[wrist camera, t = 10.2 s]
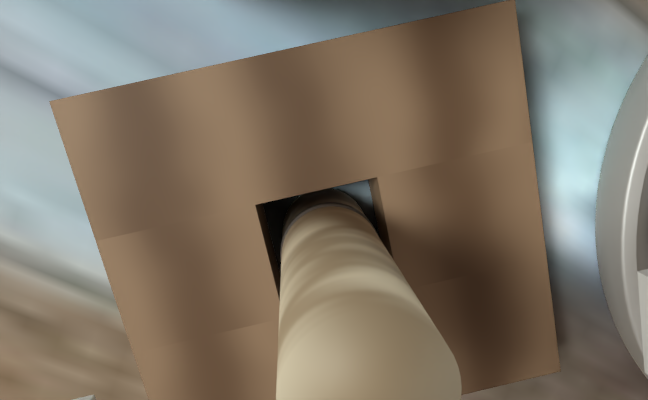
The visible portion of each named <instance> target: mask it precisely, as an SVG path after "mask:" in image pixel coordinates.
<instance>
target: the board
mask: <svg viewBox="0 0 648 400" xmlns="http://www.w3.org/2000/svg"><path fill="white" fill-rule="evenodd" d="M49 102H50V105H51V108H52V111H53V114H54V117H55V120H56V123H57V126H58V129H59V132H60V135H61V138H62V141H63V144H64V147H65V150H66V153H67V156H68V159H69V162H70V165H71V168H72V171H73V174H74V177H75V180H76V183H77V186H78V189H79V192H80V195H81V198H82V201H83V204H84V207H85V210H86V213H87V216H88V219H89V222H90V225H91V228H92V231H93V234H94V237H95V240H96V243H97V246H98V249H99V252H100V255H101V258H102V261H103V264H104V267H105V270H106V273H107V276H108V279H109V282H110V285H111V288H112V291H113V294H114V297H115V300H116V303H117V306H118V309H119V312H120V315H121V318H122V321H123V324H124V327H125V330H126V333H127V336H128V339H129V342H130V345H131V348H132V351H133V354H134V357H135V360H136V363H137V366H138V369H139V372H140V375H141V378H142V381H143V384H144V387H145V390H146V393H147V396H148V399H149V400H276V384H277V358H278V332H279V306H280V280H281V274H280V270H279V266H278V262H277V258H276V254H275V250H274V246H273V242H272V238H271V234H270V230H269V226H268V222H267V218H266V214H265V210H264V206H263V203H265V202H270V201H274V200H279V199H283V198H287V197H292V196H296V195H301V194H305V193H309V192H314V191H318V190H323V189H327V188H332V187H336V186H340V185H345V184H349V183H354V182H358V181H362V180H367V179H368V181H369V186H370V191H371V196H372V201H373V206H374V211H375V216H376V221H377V226H378V231H379V236H380V240H381V241H382V243H383V244H384V246H385V247H386V249H387V251H388V252H389V254H390V255H391V257H392V259H393V260H394V262H395V263H396V265H397V266H398V268H399V270H400V271H401V273H402V274H403V276H404V277H405V279H406V281H407V282H408V284H409V285H410V287H411V288H412V290H413V292H414V293H415V295H416V296H417V298H418V299H419V301H420V303H421V304H422V306H423V307H424V309H425V310H426V312H427V314H428V315H429V317H430V318H431V320H432V322H433V323H434V325H435V326H436V328H437V329H438V331H439V333H440V334H441V336H442V337H443V339H444V340H445V342H446V344H447V345H448V347H449V348H450V350H451V352H452V353H453V355H454V357H455V360H456V362H457V365H458V368H459V372H460V376H461V386H462V389H461V395H463V394H468V393H472V392H476V391H480V390H484V389H488V388H493V387H497V386H501V385H505V384H509V383H514V382H518V381H522V380H526V379H530V378H535V377H539V376H543V375H547V374H551V373H556V372H560V371H561V370H560V362H559V354H558V345H557V337H556V329H555V321H554V313H553V305H552V297H551V289H550V281H549V273H548V264H547V256H546V248H545V240H544V232H543V224H542V216H541V208H540V200H539V192H538V183H537V175H536V167H535V159H534V151H533V143H532V135H531V127H530V119H529V110H528V102H527V94H526V86H525V78H524V70H523V62H522V54H521V46H520V38H519V29H518V21H517V13H516V5H515V0H508V1H503V2H499V3H494V4H490V5H485V6H481V7H476V8H472V9H467V10H462V11H458V12H453V13H449V14H444V15H440V16H435V17H431V18H426V19H422V20H417V21H412V22H408V23H403V24H399V25H394V26H390V27H385V28H381V29H376V30H372V31H367V32H363V33H358V34H353V35H349V36H344V37H340V38H335V39H331V40H326V41H322V42H317V43H313V44H308V45H303V46H299V47H294V48H290V49H285V50H281V51H276V52H272V53H267V54H263V55H258V56H254V57H249V58H244V59H240V60H235V61H231V62H226V63H222V64H217V65H213V66H208V67H204V68H199V69H194V70H190V71H185V72H181V73H176V74H172V75H167V76H163V77H158V78H154V79H149V80H145V81H140V82H135V83H131V84H126V85H122V86H117V87H113V88H108V89H104V90H99V91H95V92H90V93H85V94H81V95H76V96H72V97H67V98H63V99H58V100H54V101H49Z"/></svg>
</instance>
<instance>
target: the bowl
mask: <svg viewBox="0 0 648 400" xmlns="http://www.w3.org/2000/svg"><path fill="white" fill-rule="evenodd" d="M595 237H596V250H597V260H598V267H599V274H600V278H601V283H602V287H603V291H604V294H605V298H606V301H607V304H608V308H609V311H610V313H611V316H612V318H613V321H614V324H615V326H616V328H617V330H618V332H619V334H620V337H621V339H622V341H623V343H624V344H625V346H626V348H627V350H628V351H629V353H630V355H631V357H632V358H633V360H634V361H635V363H636V364H637V366H638V367H639V368H640V370H641V371H642V373H643V374H644V376H645V377H646V378H647V379H648V375H647V374H646V373H645V370H644V357H643V343H642V329H641V316H640V302H639V288H638V275H637V271H641V270H645V269H648V55H647V57H646V58H645V60H644V62H643V64H642V65H641V67H640V69H639V70H638V72H637V74H636V76H635V78H634V80H633V82H632V83H631V85H630V87H629V89H628V91H627V93H626V96H625V98H624V100H623V102H622V105H621V107H620V109H619V112H618V114H617V117H616V120H615V122H614V125H613V128H612V131H611V134H610V137H609V140H608V143H607V147H606V151H605V155H604V159H603V163H602V167H601V173H600V178H599V183H598V192H597V200H596V216H595Z"/></svg>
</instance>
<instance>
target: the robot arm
mask: <svg viewBox="0 0 648 400" xmlns="http://www.w3.org/2000/svg"><path fill="white" fill-rule="evenodd" d="M637 275H638V288H639V302H640V316H641V329H642V343H643V357H644V370H645V373H646V374H647V375H648V269H645V270H641V271H637ZM73 400H96V398H95V395H90V396H86V397H81V398H77V399H73Z"/></svg>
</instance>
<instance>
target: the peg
mask: <svg viewBox="0 0 648 400" xmlns="http://www.w3.org/2000/svg"><path fill="white" fill-rule="evenodd" d="M280 256H281V280H280V306H279V332H278V358H277V384H276V400H461V389H462V386H461V376H460V372H459V368H458V365H457V362H456V360H455V357H454V355H453V353H452V352H451V350H450V348H449V347H448V345H447V344H446V342H445V340H444V339H443V337H442V336H441V334H440V333H439V331H438V329H437V328H436V326H435V325H434V323H433V322H432V320H431V318H430V317H429V315H428V314H427V312H426V310H425V309H424V307H423V306H422V304H421V303H420V301H419V299H418V298H417V296H416V295H415V293H414V292H413V290H412V288H411V287H410V285H409V284H408V282H407V281H406V279H405V277H404V276H403V274H402V273H401V271H400V270H399V268H398V266H397V265H396V263H395V262H394V260H393V259H392V257H391V255H390V254H389V252H388V251H387V249H386V247H385V246H384V244H383V243H382V241H381V240H380V238H379V236H378V234H377V232H376V230H375V228H374V227H373V225H372V223H371V222H370V221H369V219H368V218H367V217H366V216H365V214H364V213H363V211H362V210H361V208H360V207H359V205H358V204H357V203H356V201H355V200H354V199H353V198H352V197H350V196H349V195H347V194H346V193H344V192H342V191H339V190H336V189H331V188H327V189H323V190H318V191H314V192H309V193H305V194H302V195H301V196H299V197H298V198H297V199H296V200H295V201H294V202H293V203H292V204H291V205H290V207H289V208H288V210H287V212H286V214H285V217H284V221H283V229H282V242H281V251H280Z"/></svg>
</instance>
